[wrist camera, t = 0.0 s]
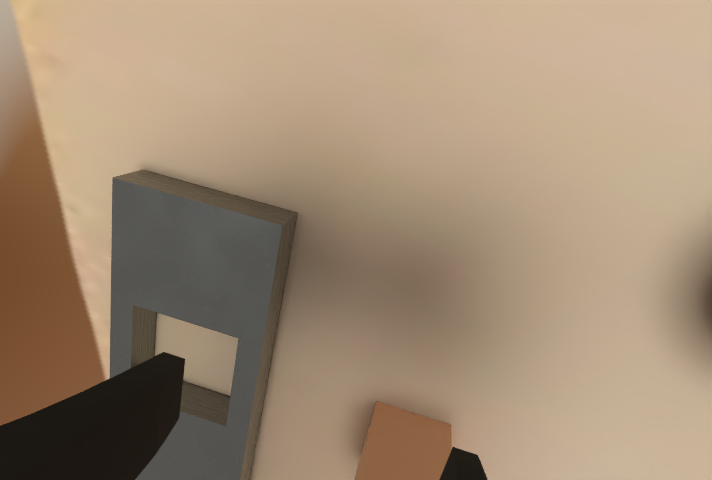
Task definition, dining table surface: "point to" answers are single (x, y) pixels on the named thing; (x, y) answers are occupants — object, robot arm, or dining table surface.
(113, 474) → the robot arm
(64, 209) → the dining table surface
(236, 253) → the grey square hole board
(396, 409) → the square peg
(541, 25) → the dining table surface
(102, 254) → the dining table surface
